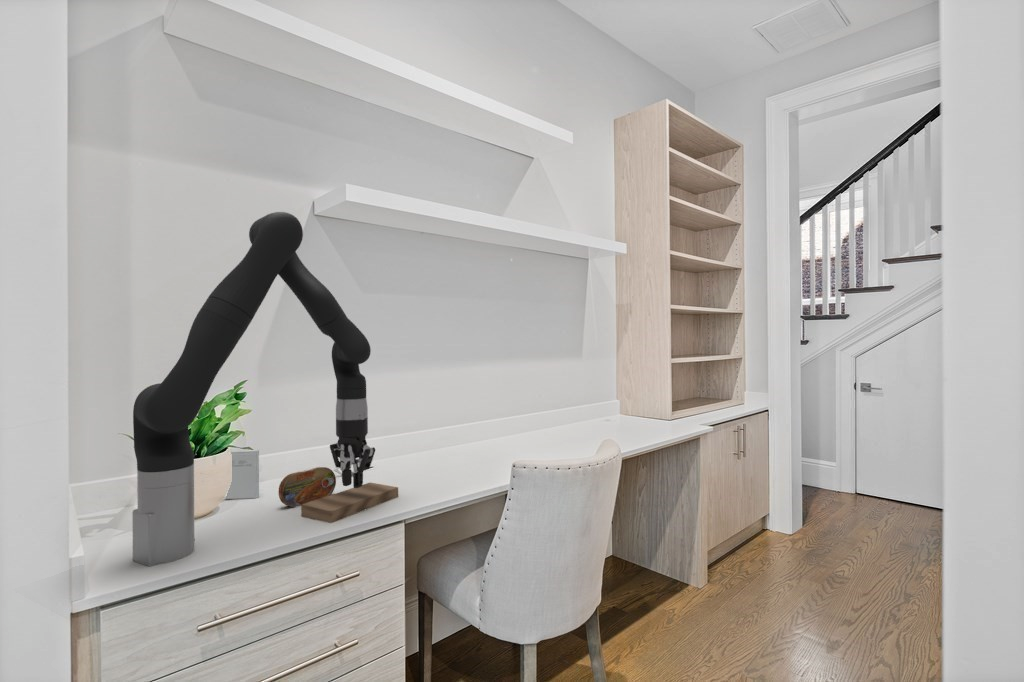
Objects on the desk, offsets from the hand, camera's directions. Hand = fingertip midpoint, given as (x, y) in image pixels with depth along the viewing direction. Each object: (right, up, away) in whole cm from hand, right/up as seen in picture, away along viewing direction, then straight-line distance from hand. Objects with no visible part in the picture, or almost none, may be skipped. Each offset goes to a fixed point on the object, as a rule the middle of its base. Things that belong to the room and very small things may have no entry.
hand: (352, 485), depth 131 cm
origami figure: (-10, -6, +30) cm, 32 cm away
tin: (-13, -6, +5) cm, 15 cm away
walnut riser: (0, -5, 0) cm, 5 cm away
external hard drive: (-32, -6, +9) cm, 33 cm away
